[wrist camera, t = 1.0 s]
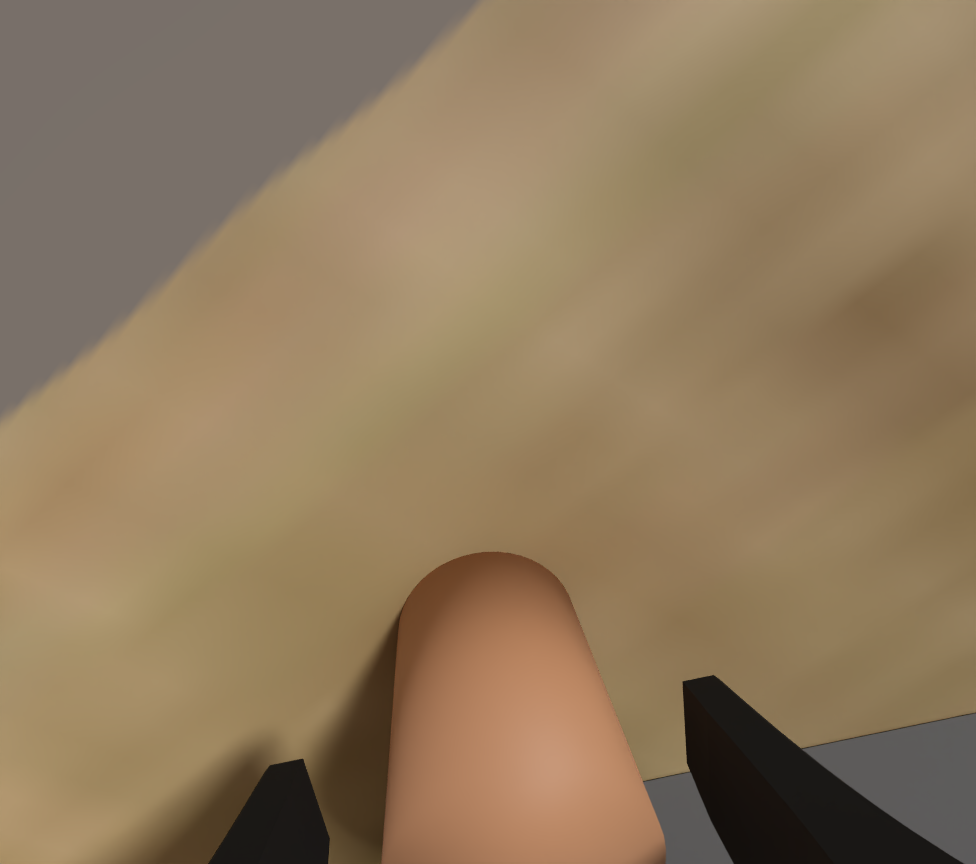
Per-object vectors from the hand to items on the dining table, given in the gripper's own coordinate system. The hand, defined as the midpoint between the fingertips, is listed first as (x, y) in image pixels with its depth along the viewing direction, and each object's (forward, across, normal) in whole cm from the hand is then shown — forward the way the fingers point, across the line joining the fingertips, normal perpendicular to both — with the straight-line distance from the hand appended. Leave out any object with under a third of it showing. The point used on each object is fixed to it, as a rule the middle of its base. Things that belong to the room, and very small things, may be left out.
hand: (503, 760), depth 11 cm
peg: (+4, 0, 0) cm, 4 cm away
